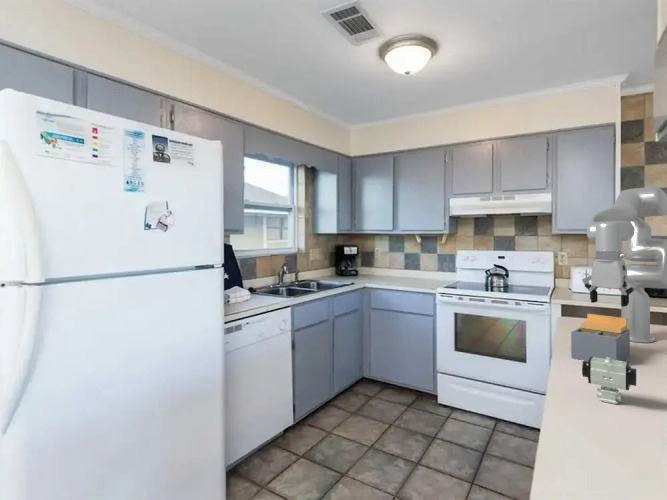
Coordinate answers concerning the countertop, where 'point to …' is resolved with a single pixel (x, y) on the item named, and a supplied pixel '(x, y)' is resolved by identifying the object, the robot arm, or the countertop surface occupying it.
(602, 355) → the housing
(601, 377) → the pneumatic valve
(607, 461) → the countertop surface
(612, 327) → the cover
